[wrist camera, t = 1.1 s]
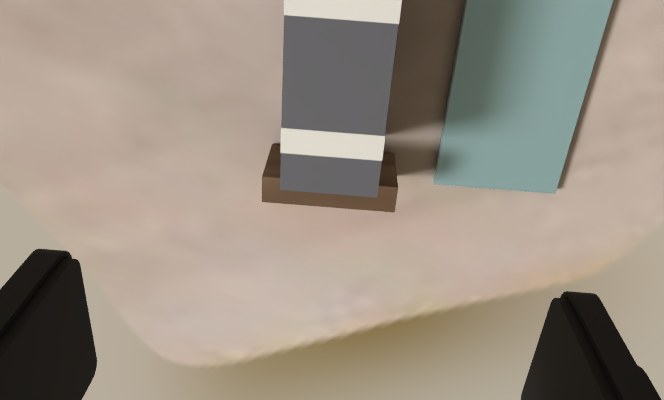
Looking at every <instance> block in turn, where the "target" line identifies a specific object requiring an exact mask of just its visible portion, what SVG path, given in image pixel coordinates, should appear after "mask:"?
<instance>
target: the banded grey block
mask: <svg viewBox="0 0 664 400" xmlns="http://www.w3.org/2000/svg"><path fill="white" fill-rule="evenodd" d="M401 4H402V0H284V48H283V87H282V126H281V147H280V153H281V167H280V190H287V191H299V192H312V193H324V194H337V195H350V196H362V197H375V198H377V196H378V187H379V179H380V171H381V163H382V159H383V151H384V143H385V130H386V122H387V114H388V106H389V98H390V90H391V81H392V73H393V65H394V57H395V49H396V41H397V32H398V24H399V21H400V13H401Z"/></svg>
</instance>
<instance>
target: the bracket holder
mask: <svg viewBox="0 0 664 400" xmlns="http://www.w3.org/2000/svg"><path fill="white" fill-rule="evenodd" d="M280 147H281V145H277V144H272V147H271V150H270V153H269V156H268V160H267V163H266V166H265V169H264V172H263V176H262V202H271V203H283V204H296V205H309V206H321V207H334V208H347V209H359V210H372V211H384V212H395V205H396V198H397V191H398V183H397V174H396V166H395V157H394V154H391V153H383V159H382V163H381V171H380V179H379V187H378V196H377V198H375V197H362V196H350V195H337V194H324V193H312V192H299V191H287V190H280V167H281V153H280Z"/></svg>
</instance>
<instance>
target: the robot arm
mask: <svg viewBox="0 0 664 400" xmlns="http://www.w3.org/2000/svg"><path fill="white" fill-rule="evenodd" d="M96 366H97V357H96V352H95V346H94V341H93V335H92V329H91V324H90V318H89V312H88V307H87V301H86V295H85V289H84V284H83V278H82V272H81V267H80V263H79V261H78V260H77V259H72V257H71V255H70V253H69V252H67V251H60V250H47V249H36V250H35V251H33V253H32V254H31V255H30V256H29V257H28V258H27V259H26V260H25V261H24V263H23V264H22V265H21V266H20V267H19V269H18V270H17V271H16V272H15V273H14V274H13V275H12V277H11V278H10V279H9V280H8V281H7V282H6V284H5V285H4V286H3V287H2V288H1V289H0V400H82V398H83V396H84V394H85V392H86V390H87V389H88V386H89V385H90V383H91V381H92V379H93V377H94V375H95V371H96ZM521 400H661V398H660V397H659V395H658V393H657V391H656V390H655V388H654V386H653V384H652V383H651V381H650V379H649V377H648V376H647V374H646V373H645V372H644V370H643V369H642V368H641V367H639V366H638V365H637V364H636V362H635V361H634V359H633V357H632V355H631V354H630V352H629V350H628V348H627V346H626V345H625V343H624V341H623V339H622V338H621V336H620V334H619V332H618V330H617V329H616V327H615V325H614V323H613V322H612V320H611V318H610V316H609V315H608V313H607V311H606V309H605V307H604V306H603V304H602V302H601V300H600V298H599V297H598V296H597V295H596V294H591V293H580V292H568V291H567V292H564V293H563V294H562V295H561V297H560V298H554V299H553V300H552V302H551V304H550V307H549V311H548V313H547V317H546V320H545V323H544V326H543V329H542V332H541V335H540V338H539V341H538V345H537V348H536V351H535V354H534V357H533V360H532V363H531V366H530V369H529V373H528V376H527V379H526V382H525V385H524V388H523V391H522V395H521Z"/></svg>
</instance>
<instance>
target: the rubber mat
mask: <svg viewBox="0 0 664 400" xmlns="http://www.w3.org/2000/svg"><path fill="white" fill-rule="evenodd" d="M612 3H613V0H465V4H464V10H463V16H462V21H461V27H460V33H459V38H458V44H457V50H456V55H455V61H454V67H453V73H452V78H451V84H450V90H449V95H448V101H447V107H446V112H445V118H444V124H443V129H442V135H441V141H440V146H439V152H438V158H437V163H436V169H435V175H434V184H438V185H451V186H463V187H476V188H489V189H501V190H514V191H527V192H539V193H552V194H555V193H556V190H557V186H558V183H559V180H560V176H561V173H562V170H563V166H564V163H565V160H566V156H567V153H568V150H569V146H570V143H571V140H572V136H573V133H574V130H575V126H576V123H577V120H578V116H579V113H580V110H581V106H582V103H583V100H584V96H585V93H586V90H587V86H588V83H589V80H590V76H591V73H592V69H593V66H594V63H595V59H596V56H597V53H598V49H599V46H600V43H601V39H602V36H603V33H604V29H605V26H606V23H607V19H608V16H609V13H610V9H611V6H612Z"/></svg>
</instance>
